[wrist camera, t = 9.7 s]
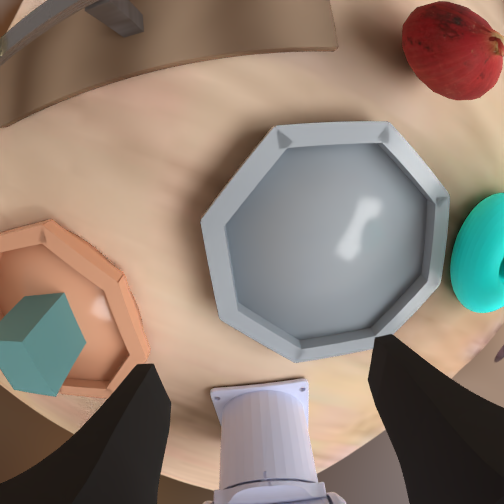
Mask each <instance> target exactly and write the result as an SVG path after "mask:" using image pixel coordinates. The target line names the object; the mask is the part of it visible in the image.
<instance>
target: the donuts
mask: <svg viewBox="0 0 504 504" xmlns="http://www.w3.org/2000/svg"><path fill="white" fill-rule="evenodd" d="M503 257H504V193H497V194H494V195H491V196H489V197H487V198H485V199H484V200H482V201H481V202H480V203H479V204H478V205H477V206H476V207H475V208H474V209H473V210H472V211H471V212H470V214H469V215H468V217H467V218H466V220H465V221H464V223H463V225H462V227H461V229H460V231H459V233H458V235H457V238H456V241H455V244H454V247H453V251H452V256H451V264H450V276H451V283H452V287H453V291H454V293H455V295H456V297H457V299H458V300H459V302H460V303H461V304H462V305H463V306H464V307H466V308H467V309H469V310H471V311H473V312H478V313H487V312H492V311H495V310H497V309H499V308H501V307H503V306H504V258H503Z"/></svg>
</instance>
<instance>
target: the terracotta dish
mask: <svg viewBox="0 0 504 504" xmlns="http://www.w3.org/2000/svg"><path fill="white" fill-rule="evenodd" d="M53 293H65V295H66V298H67V300H68V302H69V305H70V307H71V310H72V312H73V314H74V316H75V319H76V321H77V323H78V325H79V328H80V330H81V332H82V334H83V336H84V338H85V340H86V342H87V343H86V344H85V346H84V348H83V349H82V351H81V353H80V354H79V356H78V358H77V360H76V361H75V363H74V365H73V366H72V368H71V370H70V372H69V373H68V375H67V377H66V379H65V381H64V382H63V384H62V386H61V388H60V390H59V393H61V394H67V395H76V396H86V397H97V398H109V397H110V396H111V394H112V393H113V392H114V391H115V390H116V388H117V387H118V386H119V385H120V384H121V382H122V381H123V380H124V379H125V378H126V376H127V375H128V374H129V373H130V372H131V370H132V369H133V368H134V367H135V366H136V365H137V364H144V363H145V362H146V361H147V358H148V356H149V353H150V346H149V343H148V341H147V338H146V336H145V333H144V330H143V325H142V319H141V316H140V312H139V309H138V307H137V304H136V302H135V299H134V297H133V295H132V293H131V291H130V290H129V287H128V284H127V280H126V277H125V274H123V272H122V271H120V270H119V269H117V268H116V267H115V266H113V265H112V264H111V263H110V262H109V261H108V260H107V259H106V258H105V257H104V256H103V255H102V254H101V253H100V252H99V251H98V250H97V249H95V248H94V247H93V246H92V245H91V244H89V243H88V242H86V241H85V240H83V239H82V238H80V237H79V236H77V235H75V234H73V233H71V232H69V231H67V230H65V229H64V228H62V227H61V226H60V225H59V224H57V223H56V222H55V221H54V220H51V219H50V220H46V221H42V222H38V223H34V224H30V225H27V226H23V227H19V228H16V229H12V230H8V231H5V232H1V233H0V321H1V320H2V318H3V317H4V316H5V315H6V314H7V313H8V312H9V311H10V310H11V309H12V308H13V307H14V306H15V305H16V304H17V303H18V302H19V301H20V300H21V299H22V298H23V297H24V296H32V295H43V294H53Z"/></svg>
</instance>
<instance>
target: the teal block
mask: <svg viewBox="0 0 504 504" xmlns="http://www.w3.org/2000/svg"><path fill="white" fill-rule="evenodd" d="M86 343H87V342H86V340H85V338H84V336H83V334H82V332H81V330H80V328H79V325H78V323H77V321H76V319H75V316H74V314H73V312H72V310H71V307H70V305H69V302H68V300H67V298H66V295H65V293H53V294H43V295H32V296H24V297H23V298H22V299H21V300H20V301H19V302H18V303H17V304H16V305H15V306H14V307H13V308H12V309H11V310H10V311H9V312H8V313H7V314H6V315H5V316H4V317H3V318H2V320H1V321H0V369H1V371H2V372H3V374H4V375H5V377H6V378H7V380H8V381H9V383H10V384H11V386H12V387H13V389H14V390H19V391H24V392H29V393H35V394H41V395H48V396H55V397H56V395H57V393H58V392H59V390H60V388H61V386H62V384H63V382H64V381H65V379H66V377H67V375H68V373H69V372H70V370H71V368H72V366H73V365H74V363H75V361H76V360H77V358H78V356H79V354H80V353H81V351H82V349H83V348H84V346H85V344H86Z"/></svg>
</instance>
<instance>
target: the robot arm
mask: <svg viewBox="0 0 504 504" xmlns="http://www.w3.org/2000/svg"><path fill="white" fill-rule="evenodd" d="M368 382H369V386H370V389H371V393H372V396H373V399H374V402H375V405H376V408H377V410H378V412H379V415H380V417H381V419H382V422H383V424H384V426H385V428H386V431H387V433H388V435H389V437H390V440H391V442H392V445H393V447H394V449H395V452H396V454H397V457H398V460H399V462H400V465H401V469H402V472H403V476H404V480H405V484H406V489H407V493H408V498H409V503H410V504H504V408H503V407H501V406H498V405H496V404H494V403H492V402H490V401H487V400H486V399H484V398H482V397H480V396H478V395H476V394H474V393H473V392H471V391H469V390H468V389H466V388H464V387H462V386H461V385H460V384H458V383H456V382H455V381H454V380H452V379H450V378H449V377H448V376H446V375H445V374H443V373H442V372H440V371H439V370H438V369H436V368H435V367H434V366H432V365H431V364H430V363H428V362H427V361H426V360H424V359H423V358H422V357H420V356H419V355H418V354H417V353H415V352H414V351H413V350H412V349H410V348H409V347H408V346H407V345H405V344H404V343H403V342H401V341H400V340H399V339H398V338H396V337H395V336H394V335H392V334H388V335H384V336H379V337H375V339H374V346H373V353H372V359H371V365H370V370H369V376H368ZM302 387H304V388H302ZM210 396H211V399H212V402H213V405H214V408H215V410H216V413H217V416H218V419H219V422H220V425H221V427H222V428H221V453H220V481H219V490H214V501H205V502H204V503H203V504H347V503H346V502H345V500H344V499H343V498H341V497H340V496H338V494H336V493H335V492H329V493H326V489H325V485H324V482H319V483H318V479H317V474H316V469H315V463H314V458H313V453H312V448H311V443H310V438H309V433H308V381H307V379H304V378H303V379H295V380H288V381H281V382H273V383H264V384H255V385H245V386H234V387H221V388H213V389H211V390H210ZM170 413H171V401H170V399H169V397H168V395H167V393H166V391H165V389H164V386H163V384H162V382H161V380H160V378H159V375H158V373H157V371H156V368H155V366H154V364H137V365H136V366H135V367H134V368H133V369H132V370H131V372H130V373H129V374H128V375H127V376H126V378H125V379H124V380H123V381H122V382H121V384H120V385H119V386H118V387H117V388H116V390H115V391H114V392H113V393H112V394H111V396H110V397H109V398H108V399H107V400H106V401H105V403H104V404H103V405H102V406H101V407H100V408H99V409H98V411H97V412H96V413H95V414H94V415H93V416H92V417H91V418H90V419H89V420H88V421H87V422H86V423H85V424H84V425H83V426H82V428H81V429H80V430H78V431H77V432H76V433H75V434H74V435H73V436H72V437H71V438H70V439H69V440H68V441H66V443H64V444H63V445H62V446H61V447H60V448H58V449H57V450H56V451H54V452H53V453H52V454H50V455H49V456H48V457H46V458H45V459H43V460H42V461H41V462H39V463H38V464H37V465H35V466H33V467H32V468H30V469H28V470H27V471H25V472H23V473H21V474H20V475H18V476H16V477H14V478H12V479H10V480H8V481H5V482H3V483H0V504H157V492H158V484H159V478H160V473H161V468H162V463H163V458H164V453H165V448H166V443H167V438H168V433H169V426H170Z"/></svg>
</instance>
